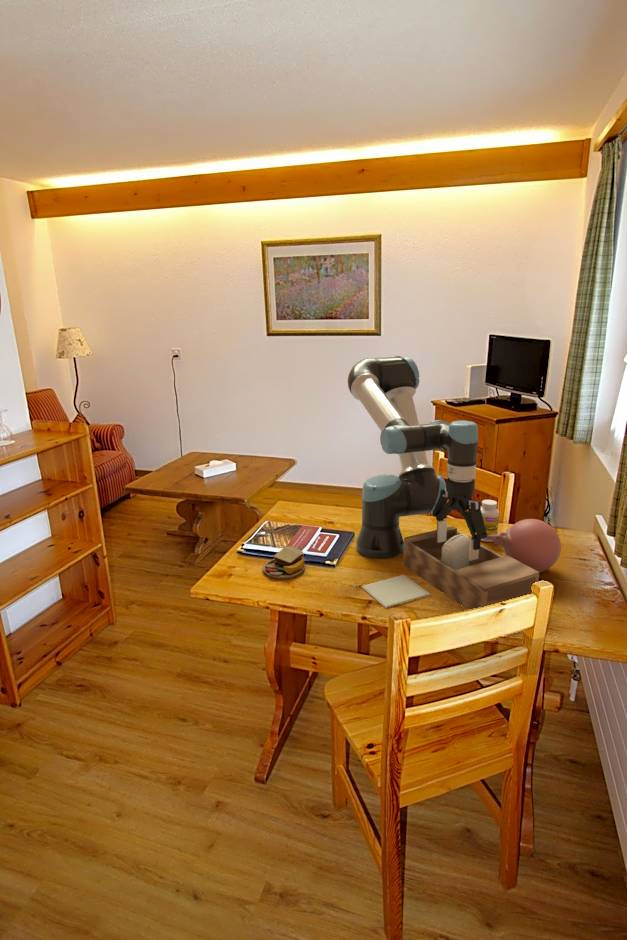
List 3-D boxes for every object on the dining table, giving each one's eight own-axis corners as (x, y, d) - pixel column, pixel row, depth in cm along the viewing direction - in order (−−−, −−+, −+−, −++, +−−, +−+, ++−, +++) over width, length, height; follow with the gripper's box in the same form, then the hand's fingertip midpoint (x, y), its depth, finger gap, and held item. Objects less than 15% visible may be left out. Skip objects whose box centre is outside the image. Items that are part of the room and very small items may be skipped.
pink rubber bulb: (485, 553, 174) (488, 507, 170) (554, 560, 169) (560, 513, 164) (485, 577, 160) (489, 527, 155) (561, 585, 155) (567, 534, 150)
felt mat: (361, 587, 155) (361, 585, 155) (403, 576, 161) (403, 574, 161) (385, 608, 145) (385, 606, 145) (429, 595, 151) (429, 593, 151)
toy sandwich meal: (254, 570, 167) (253, 556, 166) (287, 556, 176) (287, 542, 174) (282, 585, 158) (281, 569, 157) (316, 568, 167) (315, 554, 166)
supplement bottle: (482, 543, 181) (485, 506, 177) (472, 535, 187) (474, 499, 184) (501, 541, 183) (504, 504, 179) (490, 533, 189) (493, 497, 185)
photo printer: (450, 585, 156) (453, 544, 152) (437, 579, 159) (440, 539, 155) (470, 572, 163) (473, 533, 159) (458, 567, 166) (460, 529, 162)
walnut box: (403, 565, 168) (404, 537, 165) (451, 552, 175) (452, 526, 173) (482, 620, 139) (485, 588, 136) (535, 603, 146) (539, 572, 144)
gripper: (421, 469, 161) (419, 537, 167) (482, 493, 140) (477, 570, 146) (442, 465, 164) (439, 532, 170) (504, 488, 143) (499, 564, 149)
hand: (456, 550), depth 158 cm, fingers open, 13 cm apart
